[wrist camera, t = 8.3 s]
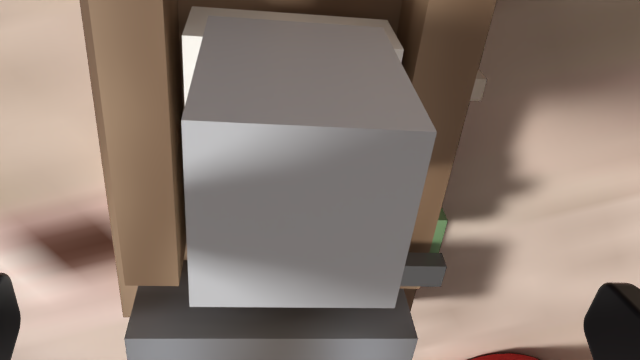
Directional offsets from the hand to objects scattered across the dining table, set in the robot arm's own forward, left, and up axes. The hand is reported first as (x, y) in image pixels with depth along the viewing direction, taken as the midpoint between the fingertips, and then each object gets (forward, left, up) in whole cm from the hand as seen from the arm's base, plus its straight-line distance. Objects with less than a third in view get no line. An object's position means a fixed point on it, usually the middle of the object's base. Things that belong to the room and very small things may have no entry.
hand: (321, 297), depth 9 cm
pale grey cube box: (+1, -2, -9) cm, 9 cm away
